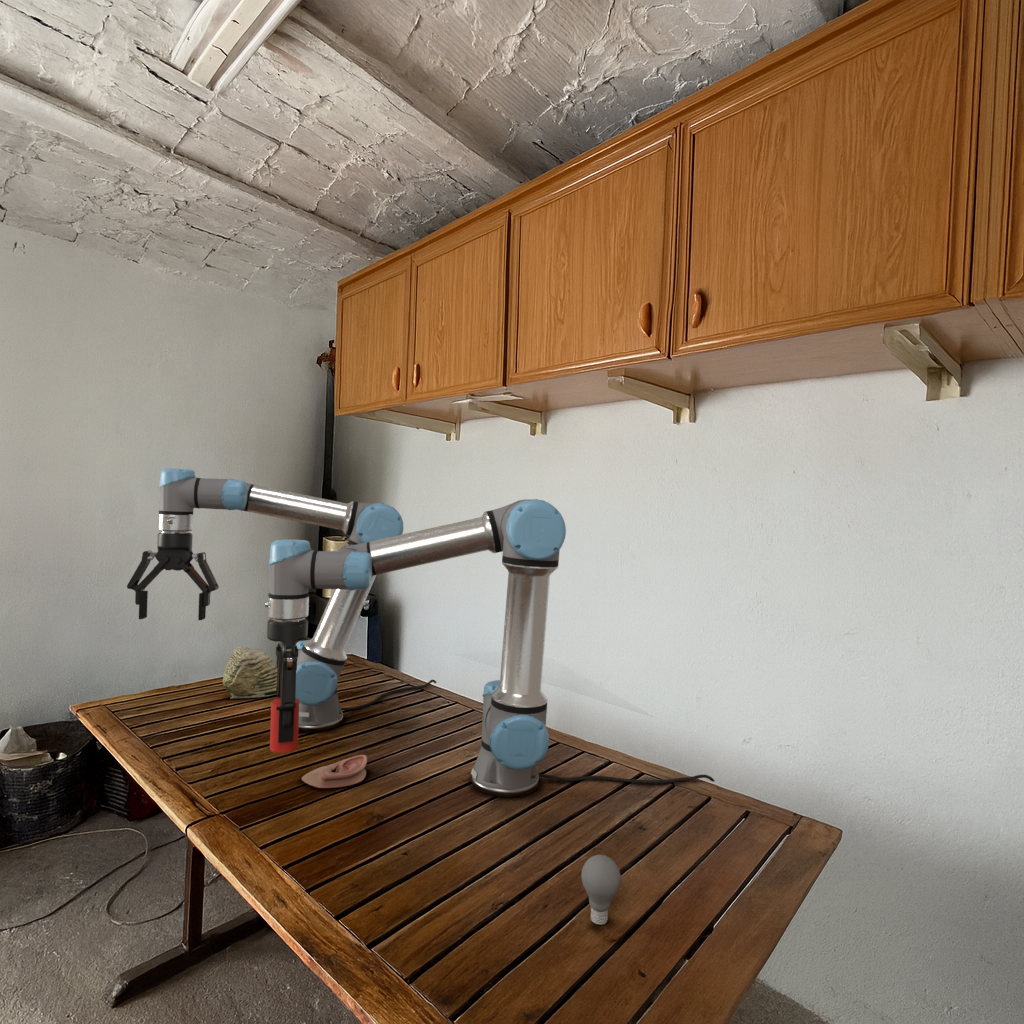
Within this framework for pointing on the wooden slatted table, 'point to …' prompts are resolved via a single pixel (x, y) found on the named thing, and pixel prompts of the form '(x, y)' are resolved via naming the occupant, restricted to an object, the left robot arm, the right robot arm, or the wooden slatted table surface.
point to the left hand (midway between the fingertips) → (172, 618)
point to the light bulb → (600, 885)
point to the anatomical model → (338, 773)
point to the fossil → (250, 674)
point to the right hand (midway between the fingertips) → (284, 735)
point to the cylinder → (274, 727)
